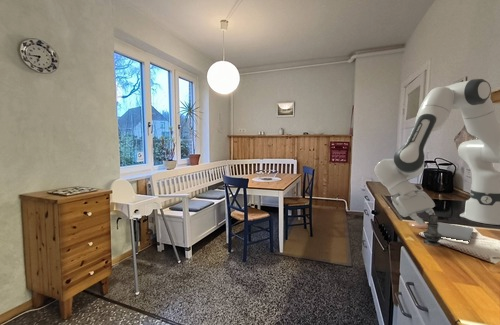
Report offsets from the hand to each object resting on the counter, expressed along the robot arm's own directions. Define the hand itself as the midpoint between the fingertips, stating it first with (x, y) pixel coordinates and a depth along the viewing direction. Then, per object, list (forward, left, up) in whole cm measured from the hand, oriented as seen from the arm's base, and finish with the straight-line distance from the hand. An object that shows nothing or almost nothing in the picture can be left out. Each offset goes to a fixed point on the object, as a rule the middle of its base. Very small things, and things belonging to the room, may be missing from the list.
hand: (429, 221), depth 93 cm
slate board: (-16, +5, -8) cm, 18 cm away
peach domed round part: (-19, -7, -8) cm, 22 cm away
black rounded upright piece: (0, +1, -8) cm, 8 cm away
